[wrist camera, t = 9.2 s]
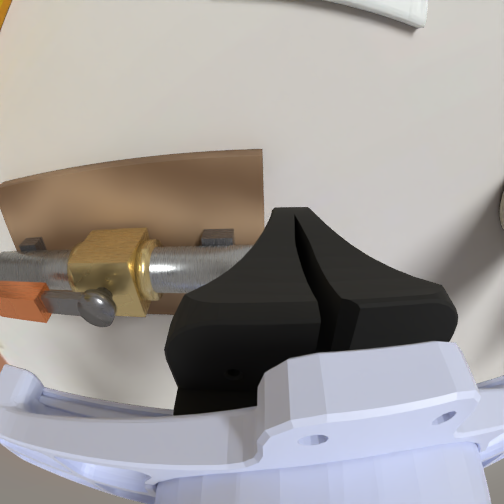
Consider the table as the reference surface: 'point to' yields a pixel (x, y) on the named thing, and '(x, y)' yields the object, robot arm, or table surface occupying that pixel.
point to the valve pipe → (125, 265)
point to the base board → (141, 202)
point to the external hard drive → (393, 9)
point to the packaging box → (3, 10)
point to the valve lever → (55, 303)
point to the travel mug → (502, 211)
